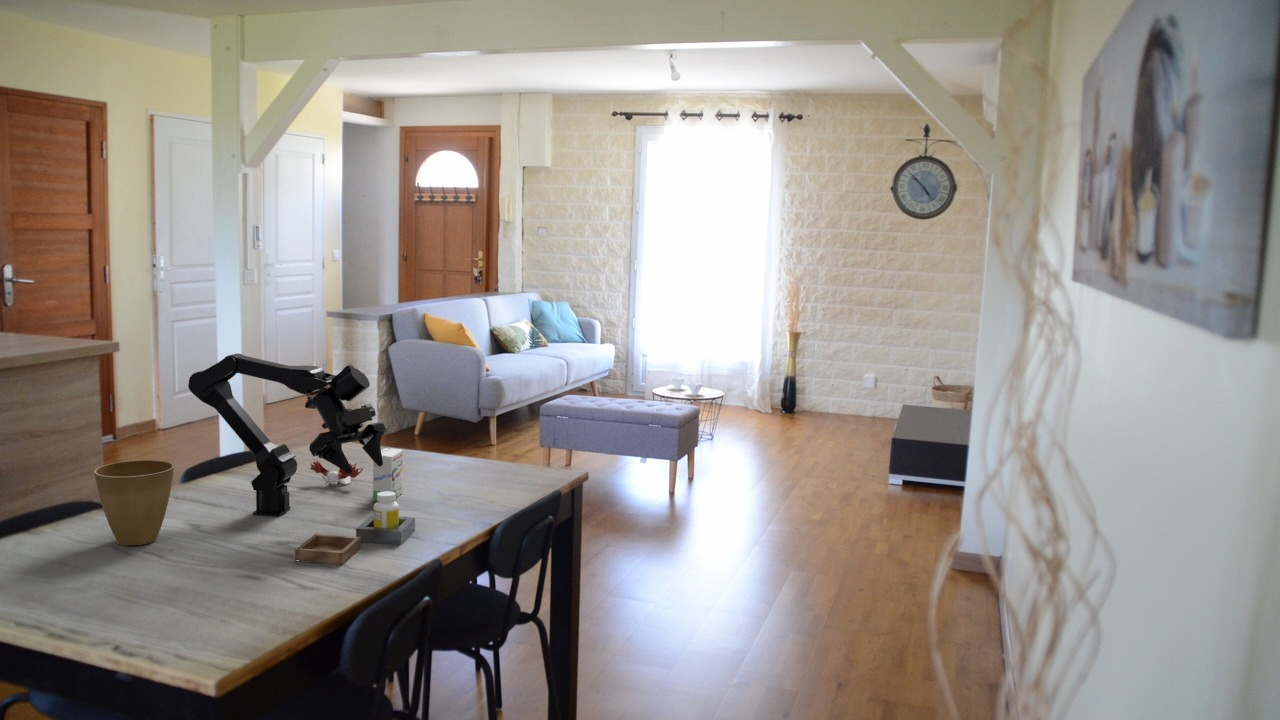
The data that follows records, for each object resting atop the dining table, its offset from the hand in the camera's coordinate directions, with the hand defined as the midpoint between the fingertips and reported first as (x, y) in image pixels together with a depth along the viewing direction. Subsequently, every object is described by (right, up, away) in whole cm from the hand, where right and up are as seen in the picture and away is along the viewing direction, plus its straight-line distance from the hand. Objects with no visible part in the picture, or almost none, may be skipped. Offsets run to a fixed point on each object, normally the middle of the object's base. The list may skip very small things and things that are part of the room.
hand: (366, 469), depth 219 cm
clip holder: (+5, -15, -4) cm, 16 cm away
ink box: (-2, -10, +26) cm, 28 cm away
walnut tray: (-3, -16, -17) cm, 23 cm away
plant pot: (-45, -14, -14) cm, 49 cm away
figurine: (-17, -8, +35) cm, 40 cm away
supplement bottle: (+5, -15, -4) cm, 16 cm away
